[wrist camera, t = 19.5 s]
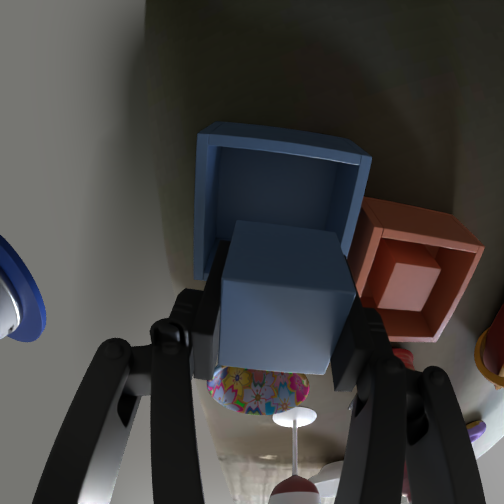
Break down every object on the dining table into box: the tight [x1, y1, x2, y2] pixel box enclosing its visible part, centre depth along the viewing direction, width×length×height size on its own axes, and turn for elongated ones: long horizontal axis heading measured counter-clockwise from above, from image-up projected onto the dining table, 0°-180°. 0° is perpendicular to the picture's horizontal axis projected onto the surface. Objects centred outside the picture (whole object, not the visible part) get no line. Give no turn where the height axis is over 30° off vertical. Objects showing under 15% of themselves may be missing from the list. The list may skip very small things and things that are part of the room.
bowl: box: [308, 460, 344, 497], centre depth 57 cm, size 20×20×7 cm
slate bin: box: [194, 121, 372, 281], centre depth 25 cm, size 12×12×7 cm
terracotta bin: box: [347, 196, 485, 342], centre depth 27 cm, size 12×12×7 cm
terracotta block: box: [367, 237, 441, 311], centre depth 27 cm, size 5×5×5 cm
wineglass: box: [268, 407, 321, 504], centre depth 38 cm, size 8×9×20 cm
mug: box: [207, 365, 309, 415], centre depth 31 cm, size 12×9×11 cm
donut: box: [466, 421, 486, 442], centre depth 51 cm, size 10×9×5 cm
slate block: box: [218, 220, 356, 375], centre depth 14 cm, size 5×5×5 cm
